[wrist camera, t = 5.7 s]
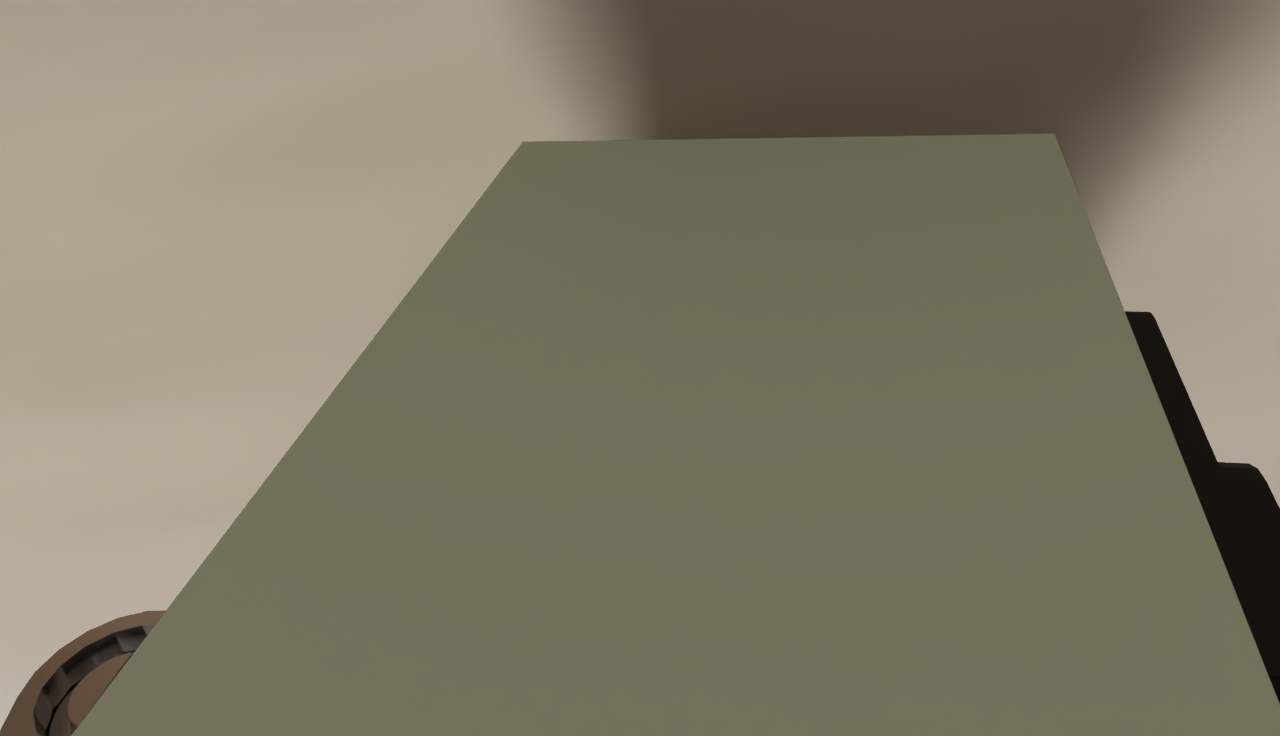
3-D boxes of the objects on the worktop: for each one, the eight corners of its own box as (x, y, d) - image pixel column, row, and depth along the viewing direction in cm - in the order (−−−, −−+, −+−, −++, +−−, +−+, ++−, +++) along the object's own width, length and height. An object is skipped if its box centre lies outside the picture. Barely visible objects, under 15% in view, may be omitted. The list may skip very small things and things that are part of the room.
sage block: (1053, 133, 9) (1496, 1247, 3) (997, 545, 12) (1146, 1594, 5) (522, 141, 10) (-100, 960, 4) (582, 519, 13) (284, 1375, 6)
